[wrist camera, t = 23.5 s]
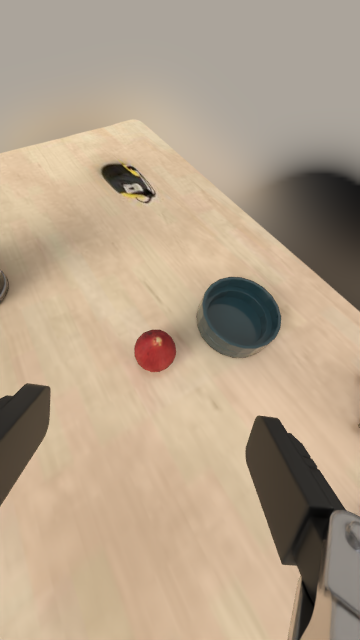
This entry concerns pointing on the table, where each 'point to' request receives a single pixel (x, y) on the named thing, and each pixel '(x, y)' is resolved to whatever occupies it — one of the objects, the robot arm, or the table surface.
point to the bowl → (238, 317)
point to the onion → (155, 350)
